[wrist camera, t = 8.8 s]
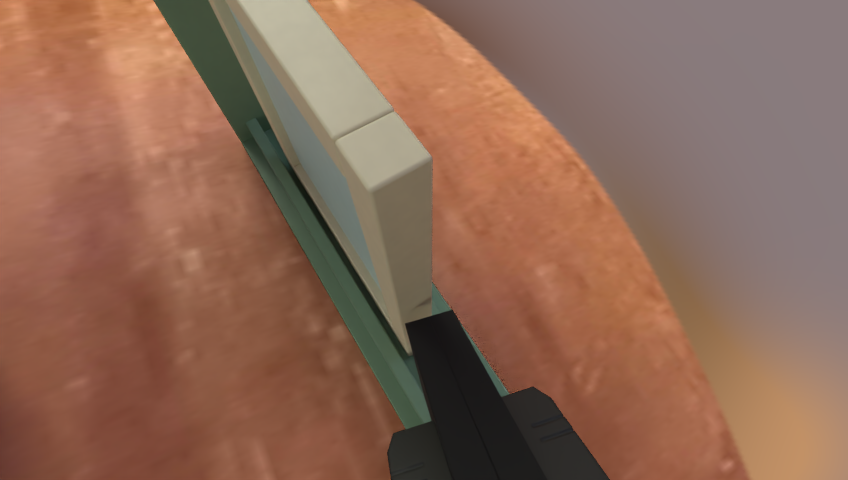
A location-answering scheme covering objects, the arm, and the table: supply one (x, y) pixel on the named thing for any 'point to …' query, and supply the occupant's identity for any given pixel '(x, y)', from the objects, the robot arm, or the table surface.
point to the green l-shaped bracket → (303, 209)
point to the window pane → (342, 149)
